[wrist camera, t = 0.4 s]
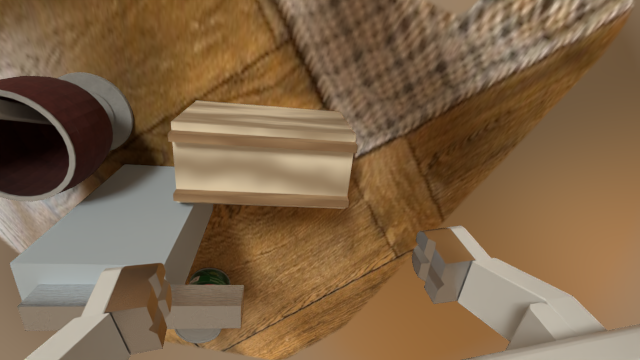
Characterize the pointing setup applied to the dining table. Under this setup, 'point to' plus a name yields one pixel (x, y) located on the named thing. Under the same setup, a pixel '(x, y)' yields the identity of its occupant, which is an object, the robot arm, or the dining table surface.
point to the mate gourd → (57, 132)
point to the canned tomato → (204, 278)
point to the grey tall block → (118, 232)
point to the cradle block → (262, 156)
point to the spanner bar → (186, 313)
